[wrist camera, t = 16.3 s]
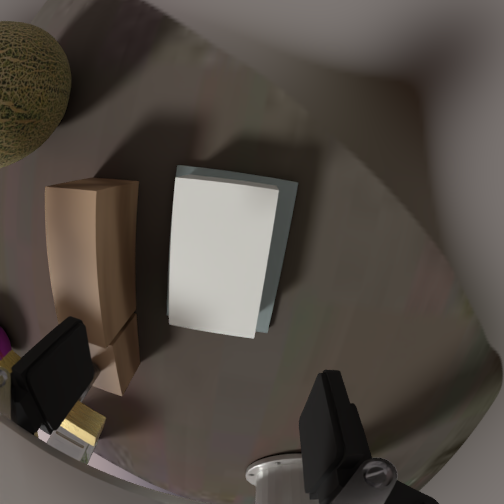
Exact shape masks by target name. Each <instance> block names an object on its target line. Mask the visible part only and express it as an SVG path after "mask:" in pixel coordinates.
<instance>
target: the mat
mask: <svg viewBox="0 0 504 504" xmlns="http://www.w3.org/2000/svg"><path fill="white" fill-rule="evenodd" d="M185 175H199V176H208V177H217V178H226V179H234V180H241V181H249V182H256V183H263V184H270V185H276V186H277V188H278V189H279V193H278V200H277V206H276V212H275V219H274V225H273V231H272V237H271V243H270V249H269V255H268V261H267V267H266V273H265V279H264V285H263V291H262V296H261V302H260V308H259V313H258V319H257V325H256V330H255V331H257V332H264V333H267V332H268V328H269V324H270V319H271V315H272V310H273V306H274V301H275V297H276V292H277V288H278V283H279V278H280V274H281V269H282V264H283V259H284V254H285V249H286V244H287V239H288V234H289V229H290V224H291V219H292V214H293V209H294V203H295V198H296V193H297V187H298V182H293V181H288V180H282V179H277V178H271V177H265V176H259V175H253V174H246V173H239V172H232V171H225V170H218V169H210V168H202V167H193V166H184V165H177V171H176V177H180V176H185ZM173 199H174V197H173ZM172 212H173V208H172ZM171 227H172V219H171ZM170 245H171V231H170ZM170 245H169V263H168V287H167V315H168V316H169V272H170Z"/></svg>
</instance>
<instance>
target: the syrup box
mask: <svg viewBox="0 0 504 504" xmlns="http://www.w3.org/2000/svg"><path fill="white" fill-rule="evenodd" d="M98 440H99V439H98ZM98 440H97V442H98ZM97 442H96V444H97ZM47 444H49V445H50V446H52V447H54V448H56V449H57V450H59V451H61V452H63V453H65V454H67V455H69V456H71V457H72V458H74V459H76V460H78V461H80V462H83V463H85V464H88V462H89V460H90V457H91V455H92V453H93V451H94V449H95V447H96V444H95V446H92V445H90V444H89V443H87V442H85V441H83V440H82V439H80V438H78V437H77V436H75V435H74V434H72V433H70V432H69V431H67V430H66V429H64V428H63V427H61V426H60V427H59V428H58V429H57V430H56V431H53V432H52V434H51V436H50V438H49V439H48V441H47Z"/></svg>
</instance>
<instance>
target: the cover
mask: <svg viewBox="0 0 504 504" xmlns="http://www.w3.org/2000/svg"><path fill="white" fill-rule="evenodd" d="M278 193H279V189H278V188H277V186H276V185H270V184H263V183H256V182H249V181H241V180H234V179H226V178H217V177H208V176H199V175H185V176H180V177H175V188H174V199H173V212H172V227H171V245H170V272H169V324H170V325H175V326H180V327H185V328H190V329H196V330H201V331H207V332H213V333H219V334H226V335H232V336H239V337H246V338H254V336H255V330H256V325H257V319H258V313H259V308H260V302H261V296H262V291H263V285H264V279H265V273H266V267H267V261H268V255H269V249H270V243H271V237H272V231H273V225H274V219H275V212H276V206H277V200H278Z"/></svg>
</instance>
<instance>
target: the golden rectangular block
mask: <svg viewBox="0 0 504 504" xmlns="http://www.w3.org/2000/svg"><path fill="white" fill-rule="evenodd" d="M20 359H21V357H19V356H18V355H17V354H16V353H15V352H14V351H13V350H11V351H10V352H9V353H8V354H7V355H6V356H5V357H4V358H3V359H2V360H1V361H0V367H3V368H5V369H7V370H8V371H9V373H12V369H11V367H12V366H13V365H14V364H16V363H17V362H18V361H19V360H20ZM92 364H93V368H94V379H93V381H92V382H91V383H90V385H89V386H88V387H87V389H86V390H85V391H84V393H83V394H82V396H81V397H80V398H79V400H78V401H77V402H76V404H75V405H74V407H73V408H72V409H71V411H70V412H69V414H68V415H67V417H66V418H65V419H64V421H63V422H62V424H61V425H60V426H61V427H63V428H64V429H66V430H67V431H69V432H70V433H72V434H74V435H75V436H77V437H78V438H80V439H82V440H83V441H85V442H87V443H89V444H90V445H92V446H95V444H96V442H97V440H98V438H99V436H100V434H101V432H102V430H103V428H104V424H105V420H106V417H104V416H103V415H101V414H99V413H98V412H96V411H94V410H92V409H91V408H89V407H88V406H86V405H84V404H83V403H81V402H82V400H83V399H84V397H85V396H86V394H87V393H88V391H89V390H90V388H91V386H92V385H93V383H94V382H95V380H96V379H97V377H98V376H99V374H100V373H101V371H100V368H99V367H98V366H97V365H96V364H95V363H93V362H92Z"/></svg>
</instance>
